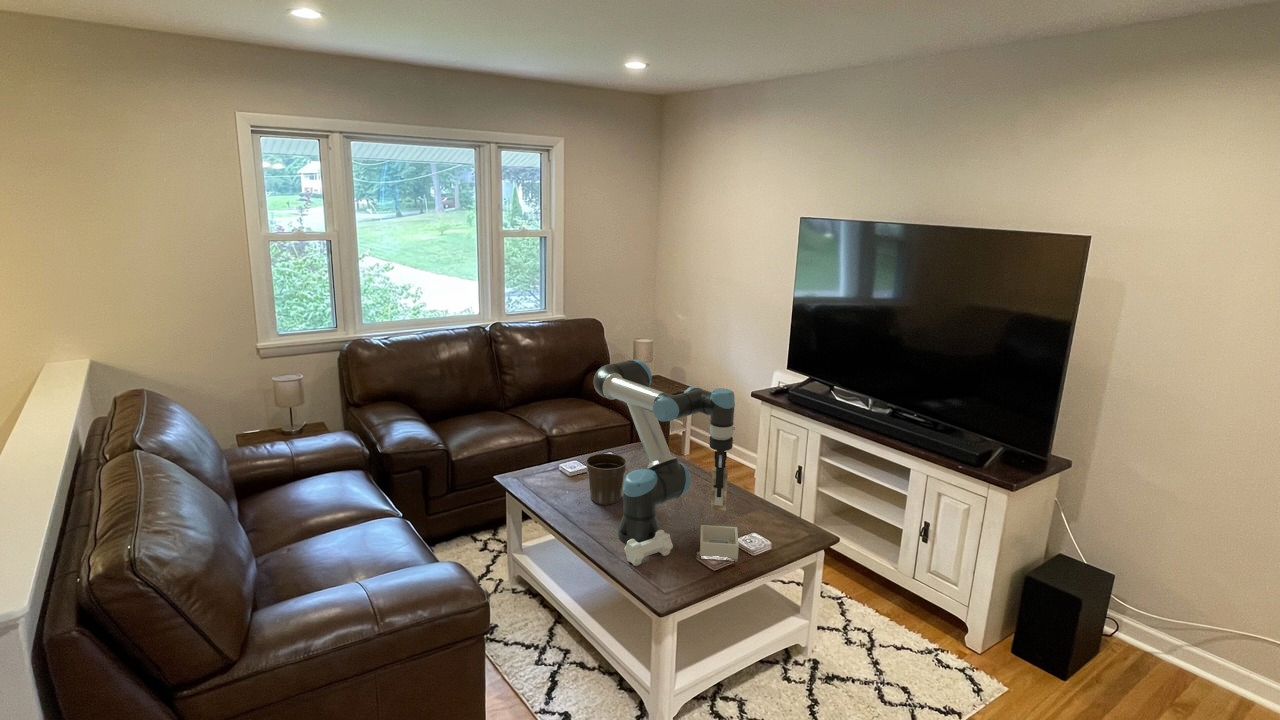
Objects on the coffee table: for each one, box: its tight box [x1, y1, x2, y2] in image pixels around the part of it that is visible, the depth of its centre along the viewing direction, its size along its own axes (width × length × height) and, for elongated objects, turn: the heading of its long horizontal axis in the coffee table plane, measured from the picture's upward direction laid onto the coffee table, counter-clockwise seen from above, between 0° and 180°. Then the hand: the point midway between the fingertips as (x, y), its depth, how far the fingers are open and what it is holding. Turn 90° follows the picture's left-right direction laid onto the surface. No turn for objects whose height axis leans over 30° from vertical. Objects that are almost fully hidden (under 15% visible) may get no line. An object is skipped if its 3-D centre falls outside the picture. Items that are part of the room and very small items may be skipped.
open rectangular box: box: [699, 524, 740, 563], centre depth 229 cm, size 13×13×6 cm
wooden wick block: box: [710, 466, 729, 512], centre depth 223 cm, size 5×3×14 cm, turn 82°
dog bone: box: [623, 529, 674, 567], centre depth 224 cm, size 15×9×8 cm, turn 124°
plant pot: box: [585, 452, 628, 506], centre depth 266 cm, size 16×16×16 cm
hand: (718, 502), depth 224 cm, fingers closed on wooden wick block, 3 cm apart
